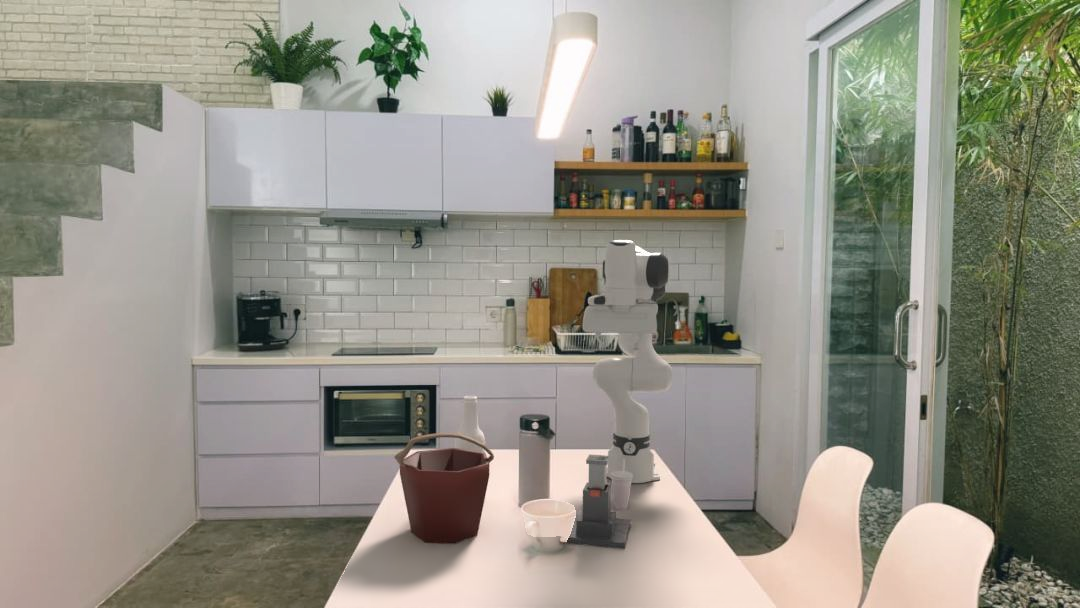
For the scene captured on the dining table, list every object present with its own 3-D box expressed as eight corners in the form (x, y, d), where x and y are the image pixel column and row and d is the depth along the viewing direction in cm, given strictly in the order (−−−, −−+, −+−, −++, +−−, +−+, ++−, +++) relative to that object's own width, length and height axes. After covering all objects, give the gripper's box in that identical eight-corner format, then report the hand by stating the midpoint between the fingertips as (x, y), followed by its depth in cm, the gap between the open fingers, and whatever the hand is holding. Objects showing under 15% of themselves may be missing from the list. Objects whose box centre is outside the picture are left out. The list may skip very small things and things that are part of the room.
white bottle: (484, 503, 197) (485, 399, 195) (453, 503, 196) (454, 399, 194) (484, 493, 205) (485, 393, 204) (455, 493, 205) (455, 393, 203)
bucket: (386, 546, 165) (386, 443, 164) (408, 513, 187) (408, 423, 186) (487, 549, 164) (488, 446, 163) (497, 516, 186) (498, 425, 185)
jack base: (571, 519, 185) (572, 474, 184) (630, 525, 181) (631, 479, 181) (559, 542, 169) (560, 493, 169) (624, 549, 166) (625, 499, 165)
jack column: (588, 522, 178) (589, 454, 177) (607, 524, 177) (609, 455, 176) (584, 529, 173) (586, 459, 172) (605, 532, 172) (606, 461, 171)
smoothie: (631, 512, 191) (632, 462, 190) (608, 510, 192) (609, 460, 192) (633, 504, 197) (634, 456, 197) (610, 502, 199) (611, 454, 198)
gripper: (656, 299, 191) (655, 348, 191) (582, 298, 191) (581, 347, 191) (660, 300, 184) (658, 351, 185) (584, 298, 184) (583, 349, 185)
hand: (619, 349), depth 188 cm, fingers open, 8 cm apart
